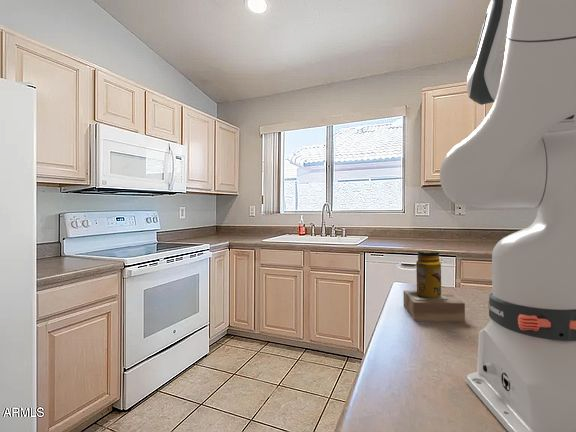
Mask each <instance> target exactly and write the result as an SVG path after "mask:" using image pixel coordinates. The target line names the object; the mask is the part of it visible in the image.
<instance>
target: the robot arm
mask: <svg viewBox="0 0 576 432" xmlns="http://www.w3.org/2000/svg"><path fill="white" fill-rule="evenodd" d="M505 41H506V42H505ZM504 42H505V51H504V54H500V53H501V50H502V48H503V44H504ZM471 63H472V64H471V66H470V69H469V72H468V74H467V77H466V91H467V95H468V98H469V99H470V100H471V101H473V102H475V103H477V104H478V105H480V106H483V105H487V104H491V103H493V104H492V106H491V108H490V110H489V112H488V114H487V115H486V116H485V117H484V118H483V120H482V122H481V123H480V124H479V125H478V126H477V128H475V130H474V131H472V133H470V135H468V136H467V137H466V138H464V139H463V140H461V142H459V143H457V144H455V145H454V146H453V147H452V148H450V150H449V151H447V153H446V155H445V156H444V158H443V160H442V163H441V165H440V170H439V182H440V186H441V189H442V190H443V193H444V194H445V195H446V197H447V198H448V200H450V201H451V202H452V203H453V204H454V205H455V204H456V205H460V206H461V205H462V206H468V207H473V208H480V209H510V208H511V209H512V208H513V209H517V208H518V209H521V208H522V209H523V208H525V209H526V208H533V209H537V214H536V217H535V218H534V221H533V222H532V223H531V224H530V225H529V226H527V227H525V228H523V229H520V230H517V231H516V232H513V233H510V234H508V235H507V236H504V237H502V238H501V239H500V240H499V241H498V242H497V243H496V244H495V245H494V247H493V250H492V251H491V252H492V253H491V280H492V281H491V284H492V285H491V288H492V289H491V293H489V295H488V298H489V299H488V305H487V307H488V316H489V318H490V320H489V321H488V323H487V325H486V326H485V327H483V328H481V330H479V332H478V343H477V346H478V347H477V361H476V364H477V365H476V371H474V372H470V373H468V374H467V375H466V381H465V382H466V384H467V385H468V386H469V388H470V389H471V390H472V391H473V393H474V394H475V395H477V397H478V398H479V400H480V401H482V402H483V404H484V405H485V406H486V407H487V409H488V410H489V411H490V412H491V413H492V415H494V417H495V418H496V419H497V420H498V421H499V422H500V424H501V425H502V426H503V428H504V429H505V430H506V431H507V432H576V0H490V2H489V5H488V8H487V11H486V14H485V17H484V20H483V24H482V28H481V31H480V35H479V39H478V43H477V47H476V51H475V53H474V57H473V61H472V62H471Z"/></svg>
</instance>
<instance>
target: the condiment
mask: <svg viewBox="0 0 576 432" xmlns="http://www.w3.org/2000/svg"><path fill="white" fill-rule="evenodd" d="M415 267H416V268H415V269H416V271H415V272H416V291H417V292H405V293H406V294H407V295H409V296H410V297H412V298H414V299H416V300H424V299H425V300H426V299H448V298H447V297H444V296H442V295H441V291H442V262H441V261H440V252H439V251H437V250H429V249H428V250H419V251H418V252H417V261H416V266H415Z"/></svg>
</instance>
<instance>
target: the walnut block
mask: <svg viewBox="0 0 576 432" xmlns="http://www.w3.org/2000/svg"><path fill="white" fill-rule="evenodd" d="M405 292H417V290H403V308H404V309H405V310H406V312H407V313H408V314H409V315H410V317H411V318H412V320H413V321H416V322H417V321H418V322H420V321H421V322H423V321H424V322H453V323H454V322H455V323H456V322H457V323H459V322H460V323H464V322H466V305H465V304H466V303H465V302H464V301H463V300H461V299H459V298H458V297H457V296H456V295H454V294H452V293H451V292H450V291H448V290H441V295H442V296H444V297H447V298H448V299H426V300H425V299H424V300H416V299H414V298H412V297H410V296H409V295H407V294H406V293H405Z"/></svg>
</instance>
